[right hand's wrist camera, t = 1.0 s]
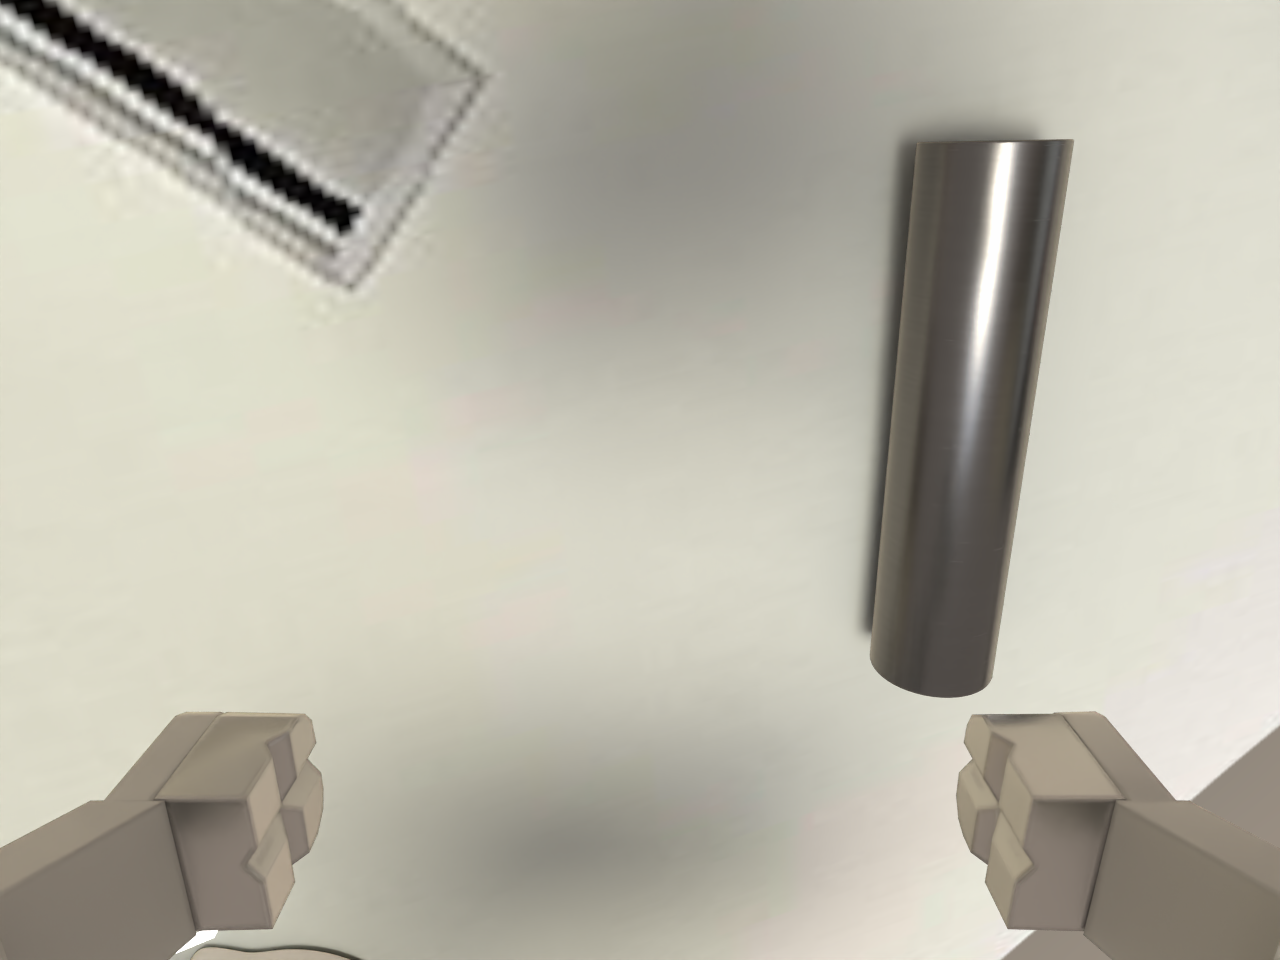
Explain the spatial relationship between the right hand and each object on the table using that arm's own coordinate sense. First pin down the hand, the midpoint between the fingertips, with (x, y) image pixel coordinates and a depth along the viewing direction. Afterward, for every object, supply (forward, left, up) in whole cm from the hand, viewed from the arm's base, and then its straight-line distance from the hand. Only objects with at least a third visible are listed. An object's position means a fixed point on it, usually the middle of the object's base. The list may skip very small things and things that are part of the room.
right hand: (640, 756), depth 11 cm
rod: (+6, +15, -33) cm, 36 cm away
